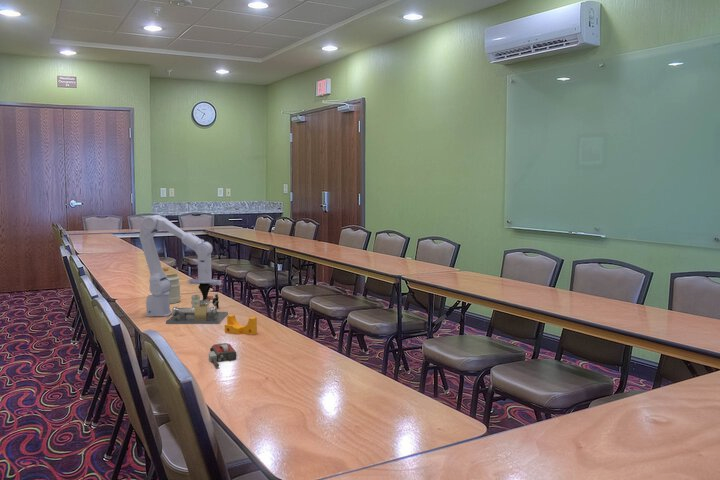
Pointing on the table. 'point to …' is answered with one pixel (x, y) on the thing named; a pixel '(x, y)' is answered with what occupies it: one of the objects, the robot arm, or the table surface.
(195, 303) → the valve
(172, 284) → the jar
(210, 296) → the valve lever
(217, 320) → the pipe stand
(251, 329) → the pipe clamp
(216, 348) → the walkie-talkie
